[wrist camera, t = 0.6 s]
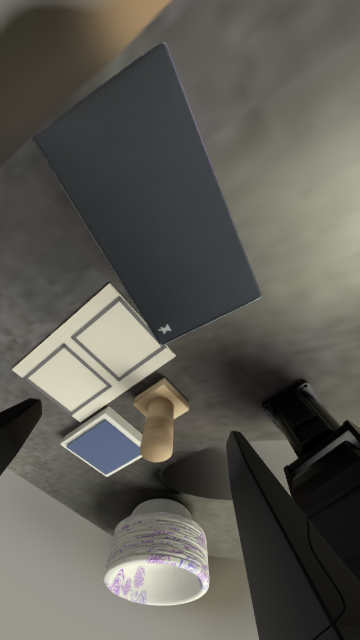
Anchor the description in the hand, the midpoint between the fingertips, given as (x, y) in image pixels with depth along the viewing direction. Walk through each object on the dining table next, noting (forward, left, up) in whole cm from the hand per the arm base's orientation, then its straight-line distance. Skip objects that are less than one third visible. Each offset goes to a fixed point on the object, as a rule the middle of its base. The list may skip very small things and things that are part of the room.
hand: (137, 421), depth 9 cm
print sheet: (+1, +10, -13) cm, 16 cm away
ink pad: (-9, +18, -13) cm, 24 cm away
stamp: (-8, +7, -13) cm, 17 cm away
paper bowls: (-28, +24, -13) cm, 39 cm away
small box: (+6, -6, -13) cm, 16 cm away
